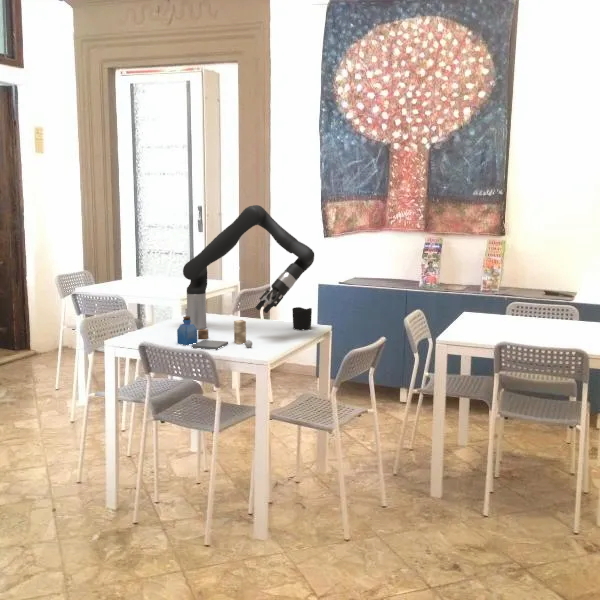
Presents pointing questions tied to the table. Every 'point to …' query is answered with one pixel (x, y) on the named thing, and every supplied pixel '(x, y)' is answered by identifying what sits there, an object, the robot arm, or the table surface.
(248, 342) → the grey ball
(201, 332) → the walnut cube
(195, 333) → the perfume bottle
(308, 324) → the pen holder
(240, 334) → the mottled tan cylinder
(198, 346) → the trivet
